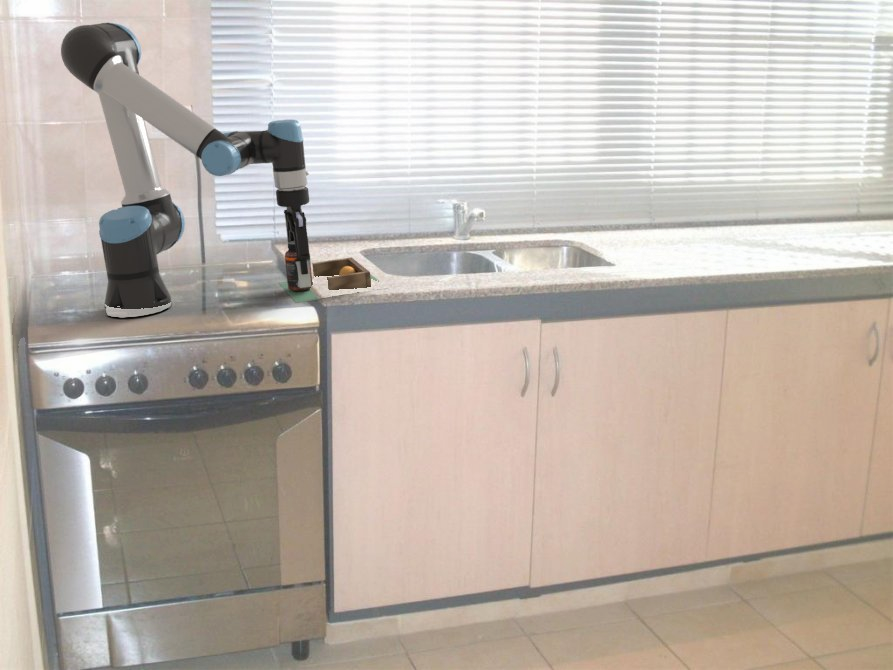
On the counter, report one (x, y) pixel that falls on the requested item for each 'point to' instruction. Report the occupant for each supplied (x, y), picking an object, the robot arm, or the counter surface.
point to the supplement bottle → (294, 268)
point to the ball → (347, 270)
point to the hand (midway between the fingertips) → (302, 283)
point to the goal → (343, 281)
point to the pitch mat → (304, 293)
